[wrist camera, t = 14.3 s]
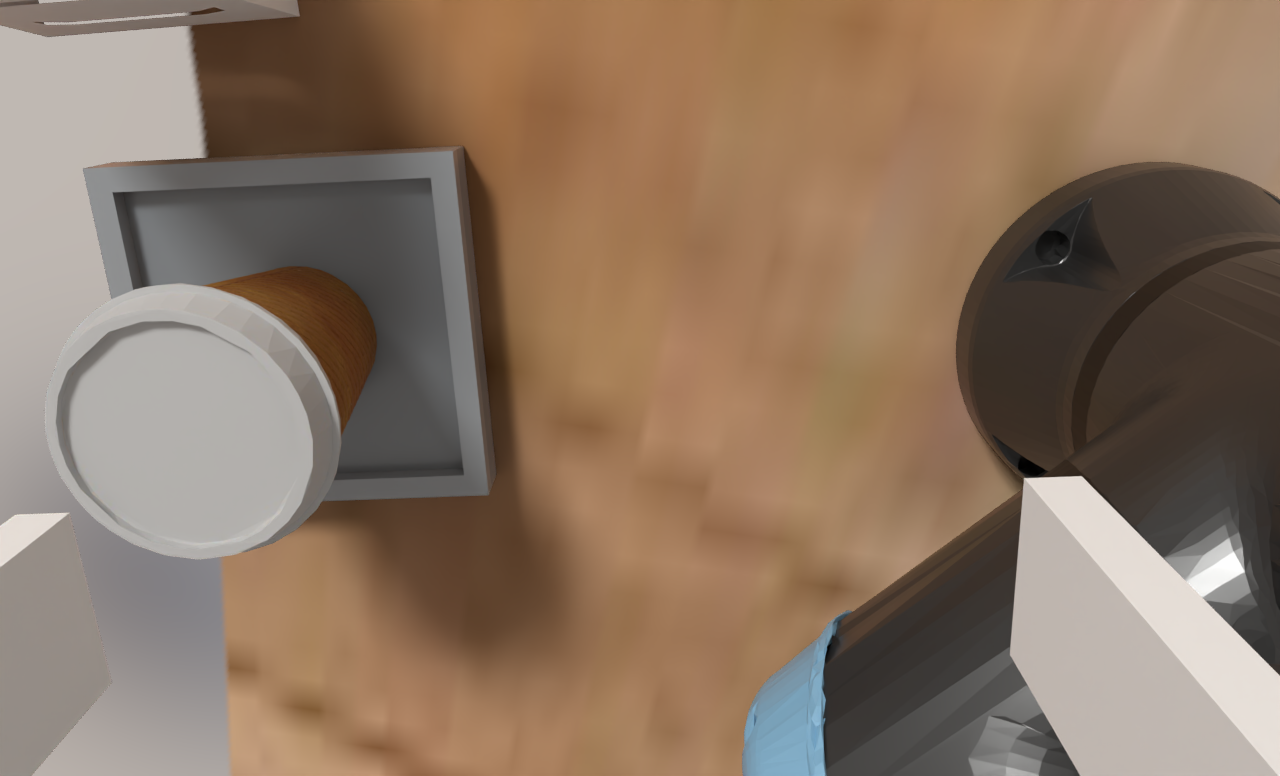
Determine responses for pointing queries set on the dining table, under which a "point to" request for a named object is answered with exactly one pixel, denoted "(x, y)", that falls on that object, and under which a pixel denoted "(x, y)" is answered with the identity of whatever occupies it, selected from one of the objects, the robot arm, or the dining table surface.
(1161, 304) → the robot arm
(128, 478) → the disposable coffee cup
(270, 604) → the dining table surface
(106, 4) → the grater
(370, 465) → the grey square tray
